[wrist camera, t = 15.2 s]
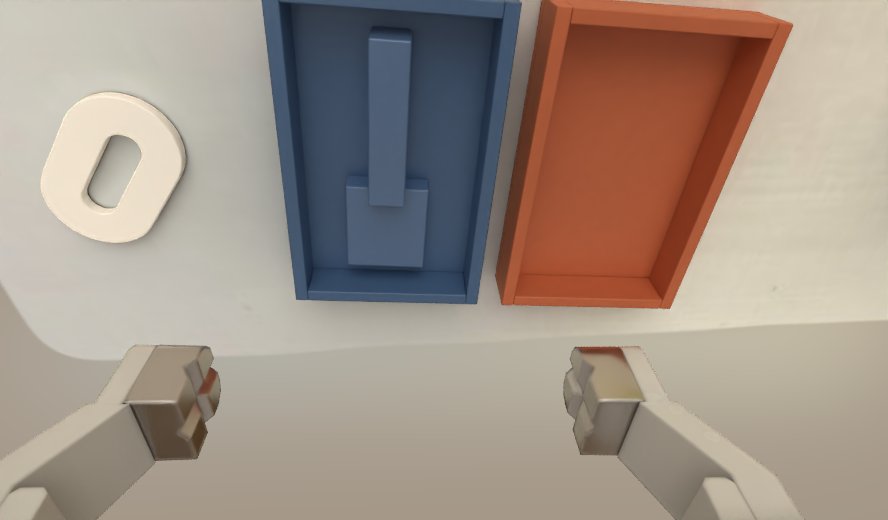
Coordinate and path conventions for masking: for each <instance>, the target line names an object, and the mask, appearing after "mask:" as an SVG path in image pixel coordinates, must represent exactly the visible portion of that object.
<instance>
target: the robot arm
mask: <svg viewBox="0 0 888 520" xmlns="http://www.w3.org/2000/svg"><path fill="white" fill-rule="evenodd" d="M212 361H213V355H212V352H211V349H210V347H207V346H185V345H135V346H133V347H132V348H130V349H129V350H128V352H127V353H126V355H125V356H124V358H123V359H122V361H121V363H120V364H119V366H118V367H117V369H116V370H115V372H114V373H113V375H112V377H111V378H110V380H109V381H108V383H107V384H106V386H105V387H104V389H103V390H102V392H101V394H100V395H99V397H98V398H97V400H96V401H95V403H94V404H86V405H84V406H83V407H81V408H80V409H79V410H77V411H75V412H74V413H72V414H70V415H69V416H67V417H66V418H64V419H63V420H61V421H59V422H58V423H56V424H55V425H53V426H52V427H50V428H49V429H47V430H46V431H44V432H42V433H41V434H39V435H38V436H36V437H35V438H33V439H32V440H30V441H28V442H27V443H25V444H24V445H22V446H21V447H19V448H17V449H16V450H14V451H13V452H11V453H10V454H8V455H7V456H5V457H4V458H2V459H0V520H97V519H98V518H99V516H101V515H102V514H103V513H104V512H105V511H106V510H107V509H108V508H109V507H110V506H111V505H112V504H113V503H114V502H115V501H117V500H118V499H119V498H120V497H121V496H122V495H123V494H124V493H125V492H126V491H127V490H128V489H129V488H130V487H131V486H132V485H133V484H134V483H135V482H136V481H137V480H138V479H139V478H140V477H141V476H143V475H144V474H145V473H146V472H147V471H148V470H149V469H150V468H151V467H152V466H153V465H154V464H155V461H161V460H162V461H163V460H189V459H197V458H198V456H199V453H200V451H201V448H202V446H203V443H204V440H205V438H206V435H207V433H208V432H207V429H206V425H205V422H206V421H208V420H209V419H210V418H211V417H213V416H214V415H215V412H216V410H217V407H218V404H219V398H220V392H221V388H220V379H219V375H218V373H217V372H216V371H215V370H214V369H212V368H211V367H210V366H211V363H212ZM570 361H571V364H572V368H571V369H570V370H569V371H568V372H566V376H565V380H564V399H565V405H566V409H567V412H568V413H569V414H570V415H571V416H572V417H573V418H574V419H575V424H574V427H573V432H574V435H575V439H576V442H577V445H578V448H579V451H580V454H581V455H618V458H619V459H620V461H621V462H622V463H623V464H624V465H625V466H626V467H627V468H628V469H629V470H630V471H631V472H632V473H633V475H634V476H635V477H636V478H637V479H638V480H639V481H640V482H641V483H642V484H643V485H644V486H645V487H646V488H647V490H649V492H650V493H651V494H652V495H653V496H654V497H655V498H656V499H657V500H658V501H659V502H660V504H662V506H663V507H664V508H665V509H666V510H667V511H668V512H669V513H670V514H671V515H672V516H673V517H674V519H675V520H805V519H804V518H803V516H802V515H801V513H800V511H799V510H798V508H797V507H796V505H795V503H794V502H793V500H792V499H791V497H790V496H789V494H788V493H787V491H786V489H785V488H784V486H783V484H782V483H781V481H780V480H779V478H778V477H777V475H776V474H774V473H773V472H772V471H770V470H769V469H768V468H766V467H765V466H764V465H762V464H761V463H759V462H758V461H757V460H755V459H754V458H753V457H751V456H750V455H749V454H747V453H746V452H744V451H743V450H742V449H740V448H739V447H738V446H736V445H735V444H733V443H732V442H731V441H730V440H728V439H727V438H726V437H724V436H723V435H721V434H720V433H719V432H717V431H716V430H715V429H713V428H712V427H711V426H709V425H708V424H706V423H705V422H704V421H702V420H701V419H700V418H698V417H697V416H696V415H694V414H693V413H692V412H690V411H689V410H687V409H686V408H685V407H683V406H682V405H681V404H679V403H678V402H670V400H669V398H668V396H667V394H666V392H665V390H664V389H663V387H662V385H661V383H660V381H659V379H658V377H657V375H656V373H655V371H654V369H653V368H652V365H651V364H650V362H649V360H648V358H647V356H646V354H645V352H644V350H643V349H642V348H640V347H639V346H635V347H575V348H574V349H573V351H572V353H571V357H570Z"/></svg>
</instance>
